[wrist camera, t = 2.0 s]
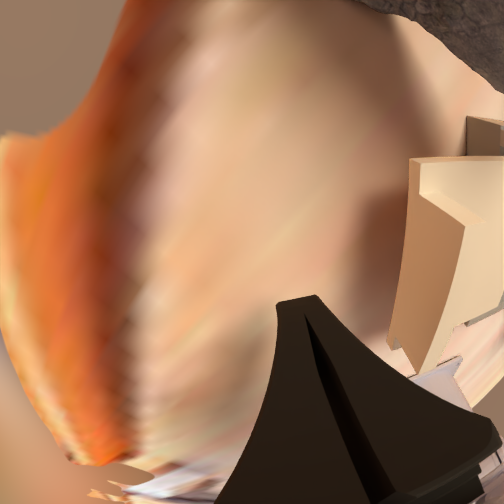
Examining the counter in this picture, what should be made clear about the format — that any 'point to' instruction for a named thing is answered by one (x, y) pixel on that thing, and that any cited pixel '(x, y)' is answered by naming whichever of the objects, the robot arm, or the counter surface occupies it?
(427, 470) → the robot arm
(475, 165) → the lid
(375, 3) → the stone
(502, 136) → the housing
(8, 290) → the counter surface
